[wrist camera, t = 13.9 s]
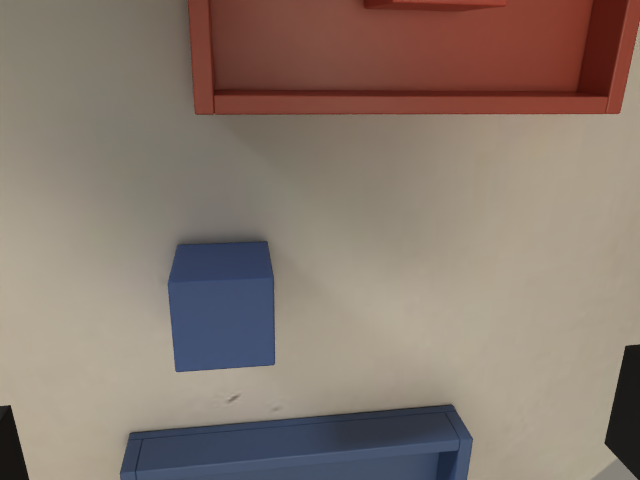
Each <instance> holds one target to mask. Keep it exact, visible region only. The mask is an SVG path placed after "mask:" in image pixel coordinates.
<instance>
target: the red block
mask: <svg viewBox="0 0 640 480" xmlns="http://www.w3.org/2000/svg"><path fill="white" fill-rule="evenodd" d="M507 1H508V0H365V2H364V7H365V9H388V10H423V11H457V12H460V11H469V10H477V9H486V8H495V7H504V6H506V5H507Z"/></svg>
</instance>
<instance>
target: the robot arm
mask: <svg viewBox="0 0 640 480" xmlns="http://www.w3.org/2000/svg"><path fill="white" fill-rule="evenodd" d="M605 445H606V446H607V447H608V448H609V449H610V450H611V451H612V452H613V453H614V454H615V455H616V456H617V457H618V458H619V460H620V461H621V462H622V463H623V464H624V465H625V466H626V467H627V468H628V469H629V470H630V471H631V472H632V474H634V476H635V477H636V478H637V479H638V480H640V345H630V346H625V351H624V356H623V360H622V365H621V369H620V374H619V379H618V383H617V388H616V393H615V397H614V402H613V406H612V411H611V416H610V420H609V425H608V429H607V434H606V439H605ZM0 480H29V477H28V473H27V469H26V465H25V461H24V457H23V453H22V449H21V445H20V441H19V437H18V433H17V429H16V425H15V421H14V417H13V413H12V409H11V405H8V406H0Z"/></svg>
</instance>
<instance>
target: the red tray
mask: <svg viewBox="0 0 640 480" xmlns="http://www.w3.org/2000/svg"><path fill="white" fill-rule="evenodd" d="M364 2H365V0H188V11H189V27H190V43H191V59H192V75H193V91H194V107H195V114H196V115H213V114H214V113H215V114H216V115H237V114H619V113H620V111H621V106H622V101H623V97H624V92H625V87H626V83H627V78H628V73H629V68H630V64H631V59H632V54H633V50H634V45H635V40H636V35H637V31H638V26H639V21H640V0H508V1H507V5H506V6H504V7H495V8H486V9H477V10H469V11H460V12H457V11H423V10H388V9H365V7H364Z"/></svg>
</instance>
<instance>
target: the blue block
mask: <svg viewBox="0 0 640 480" xmlns="http://www.w3.org/2000/svg"><path fill="white" fill-rule="evenodd" d="M168 293H169V304H170V315H171V326H172V337H173V349H174V360H175V370H176V372H185V371H199V370H213V369H227V368H241V367H255V366H269V365H274V364H275V323H274V276H273V270H272V265H271V259H270V253H269V248H268V243H267V242H243V243H216V244H189V245H178V246H177V249H176V253H175V257H174V261H173V265H172V269H171V272H170V276H169V280H168Z"/></svg>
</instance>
